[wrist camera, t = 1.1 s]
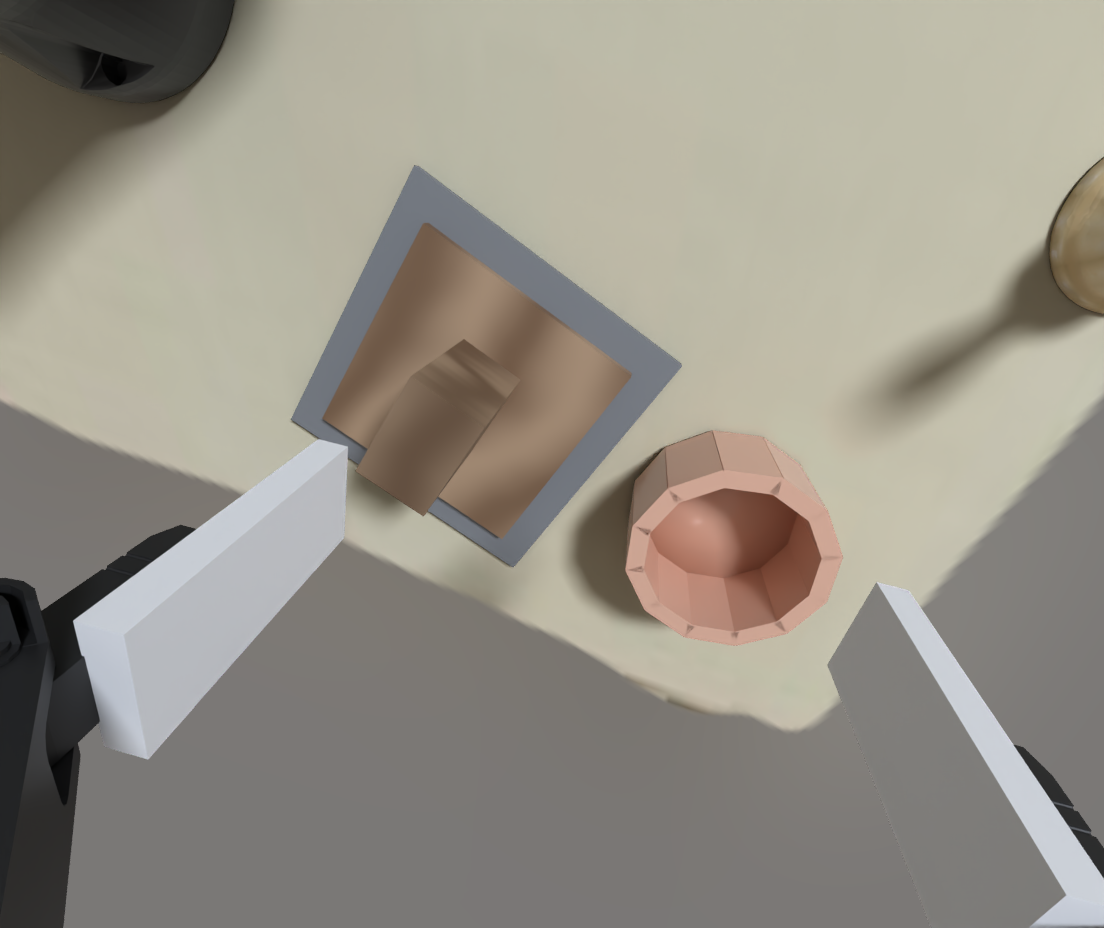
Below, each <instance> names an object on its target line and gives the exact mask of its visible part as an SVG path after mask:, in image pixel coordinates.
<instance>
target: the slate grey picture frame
mask: <svg viewBox="0 0 1104 928" xmlns="http://www.w3.org/2000/svg"><path fill="white" fill-rule="evenodd" d="M423 223H430V224H431V225H432V226H434V227H435V228H436V229H438V230H439V231H440V232H442V233H443V234H444V235H446V236H447V237H448V238H450V239H451V240H452V241H454V242H455V243H457V244H458V245H459V246H461V247H462V248H463V249H465V250H466V251H467V252H469V253H470V254H471V255H473V256H474V257H475V258H477V259H478V260H480V261H481V262H482V263H484V264H485V265H486V266H488V267H489V268H490V269H492V270H493V271H494V272H496V273H497V274H498V275H500V276H501V277H503V278H504V279H505V280H507V281H508V282H509V283H511V284H512V285H513V286H515V287H516V288H517V289H519V290H520V291H521V292H523V293H524V294H526V295H527V296H528V297H530V298H531V299H532V300H534V301H535V302H536V303H538V304H539V305H540V306H542V307H543V308H544V309H546V310H547V311H548V312H550V313H551V314H553V315H554V316H555V317H557V318H558V319H559V320H561V321H562V322H563V323H565V324H566V325H567V326H569V327H570V328H571V329H573V330H574V331H576V332H577V333H578V334H580V335H581V336H582V337H584V338H585V339H586V340H588V341H589V342H590V343H592V344H593V345H594V346H596V347H597V348H599V349H600V350H601V351H603V352H604V353H605V354H607V355H608V356H609V357H611V358H612V359H613V360H615V361H616V362H617V363H619V364H620V365H621V366H623V367H624V368H626V369H627V370H628V371H630V372H631V373H632V376H631V378H630V379H629V381H628V382H627V383H626V384H625V386H624V387H623V388H622V389H621V391H620V392H619V393H618V394H617V396H616V397H615V398H614V399H613V401H612V402H611V403H610V404H609V406H608V407H607V408H606V409H605V411H604V412H603V413H602V414H601V416H600V417H599V418H598V419H597V421H596V422H595V423H594V424H593V426H592V427H591V428H590V429H589V431H588V432H587V433H586V434H585V436H584V437H583V438H582V439H581V441H580V442H579V443H578V444H577V446H576V447H575V448H574V450H573V451H572V452H571V453H570V455H569V456H568V457H567V458H566V460H565V461H564V462H563V463H562V465H561V466H560V467H559V468H558V470H557V471H556V472H555V473H554V475H553V476H552V477H551V478H550V480H549V481H548V482H547V483H546V485H545V486H544V487H543V488H542V490H541V491H540V492H539V493H538V495H537V496H536V497H535V498H534V500H533V501H532V502H531V503H530V505H529V506H528V507H527V508H526V510H525V511H524V512H523V513H522V515H521V516H520V517H519V519H518V520H517V521H516V522H515V524H514V525H513V526H512V527H511V529H510V530H509V531H508V532H507V534H506V535H505V536H504V537H503V539H501V538H499V537H498V536H496V535H495V534H493V533H492V532H490V531H489V530H487V529H486V528H484V527H483V526H481V525H480V524H478V523H477V522H476V521H474V520H473V519H471V518H470V517H468V516H467V515H465V514H464V513H462V512H461V511H459V510H458V509H456V508H455V507H453V506H452V505H450V504H449V503H447V502H446V501H444V500H443V499H441V498H440V497H437V499H436V500H435V502H434V503H433V504H432V506H431V507H430V508H429V510H428V511H429V512H431V513H432V514H434V515H435V516H437V517H438V518H440V519H441V520H443V521H444V522H446V523H447V524H449V525H450V526H452V527H453V528H455V529H456V530H458V531H459V532H461V533H462V534H464V535H465V536H467V537H468V538H470V539H471V540H473V541H474V542H476V543H477V544H479V545H480V546H482V547H483V548H485V549H486V550H488V551H489V552H491V553H492V554H494V555H495V556H497V557H498V558H500V559H501V560H503V561H504V562H506V563H507V564H509V565H510V566H512V567H514V566H515V565H516V564H517V563H518V561H519V560H520V559H521V558H522V557H523V555H524V554H525V553H526V552H527V551H528V549H529V548H530V547H531V546H532V545H533V543H534V542H535V541H536V540H537V539H538V537H539V536H540V535H541V534H542V533H543V531H544V530H545V529H546V528H547V527H548V526H549V524H550V523H551V522H552V521H553V520H554V518H555V517H556V516H557V515H558V514H559V512H560V511H561V510H562V509H563V508H564V506H565V505H566V504H567V503H568V502H569V500H570V499H571V498H572V497H573V496H574V494H575V493H576V492H577V491H578V490H579V488H580V487H581V486H582V485H583V484H584V483H585V481H586V480H587V479H588V478H589V477H590V475H591V474H592V473H593V472H594V471H595V469H596V468H597V467H598V466H599V465H600V463H601V462H602V461H603V460H604V459H605V457H606V456H607V455H608V454H609V453H610V451H611V450H612V449H613V448H614V447H615V446H616V444H617V443H618V442H619V441H620V440H621V438H622V437H623V436H624V435H625V434H626V432H627V431H628V430H629V429H630V428H631V426H632V425H633V424H634V423H635V422H636V420H637V419H638V418H639V417H640V416H641V414H642V413H643V412H644V411H645V410H646V409H647V407H648V406H649V405H650V404H651V403H652V401H653V400H654V399H655V398H656V397H657V395H658V394H659V393H660V392H661V391H662V389H663V388H664V387H665V386H666V385H667V383H668V382H669V381H670V380H671V379H672V377H673V376H674V375H675V374H676V373H677V371H678V370H679V369H680V368H681V367H682V365H681V363H680V362H678V361H677V360H676V359H674V358H673V357H672V356H670V355H669V354H668V353H666V352H665V351H664V350H662V349H661V348H660V347H658V346H657V345H656V344H654V343H653V342H652V341H650V340H649V339H648V338H646V337H645V336H644V335H642V334H641V333H640V332H638V331H637V330H636V329H634V328H633V327H632V326H630V325H629V324H628V323H626V322H625V321H624V320H622V319H621V318H620V317H618V316H617V315H616V314H614V313H613V312H612V311H610V310H609V309H608V308H606V307H605V306H604V305H603V304H601V303H600V302H599V301H597V300H596V299H595V298H593V297H592V296H591V295H589V294H588V293H587V292H585V291H584V290H583V289H581V288H580V287H579V286H577V285H576V284H575V283H573V282H572V281H571V280H569V279H568V278H567V277H565V276H564V275H563V274H561V273H560V272H559V271H557V270H556V269H555V268H553V267H552V266H551V265H549V264H548V263H547V262H545V261H544V260H543V259H541V258H540V257H539V256H537V255H536V254H535V253H533V252H532V251H531V250H529V249H528V248H527V247H525V246H524V245H523V244H521V243H520V242H519V241H517V240H516V239H515V238H513V237H512V236H511V235H509V234H508V233H507V232H505V231H504V230H503V229H501V228H500V227H499V226H497V225H496V224H495V223H493V222H492V221H491V220H489V219H488V218H487V217H485V216H484V215H483V214H481V213H480V212H479V211H478V210H476V209H475V208H474V207H472V206H471V205H470V204H468V203H467V202H466V201H464V200H463V199H462V198H460V197H459V196H458V195H456V194H455V193H454V192H452V191H451V190H450V189H448V188H447V187H446V186H444V185H443V184H442V183H440V182H439V181H438V180H436V179H435V178H434V177H432V176H431V175H430V174H428V173H427V172H426V171H424V170H423V169H422V168H420V167H419V166H415V165H414V167H413V169H412V171H411V173H410V175H409V177H408V180H407V182H406V184H405V186H404V188H403V190H402V192H401V194H400V196H399V198H398V200H397V202H396V204H395V206H394V208H393V210H392V212H391V214H390V217H389V219H388V221H387V223H386V225H385V227H384V229H383V231H382V233H381V235H380V237H379V239H378V241H377V243H376V245H375V247H374V249H373V252H372V254H371V256H370V258H369V260H368V262H367V264H366V266H365V268H364V270H363V272H362V274H361V276H360V278H359V280H358V282H357V284H356V287H355V289H354V291H353V293H352V295H351V297H350V299H349V301H348V303H347V305H346V307H345V309H344V311H343V313H342V315H341V317H340V319H339V321H338V324H337V326H336V328H335V330H334V332H333V334H332V336H331V338H330V340H329V342H328V344H327V346H326V348H325V350H324V352H323V354H322V356H321V359H320V361H319V363H318V365H317V367H316V369H315V371H314V373H313V375H312V377H311V379H310V381H309V383H308V385H307V387H306V389H305V391H304V394H303V396H302V398H301V400H300V402H299V404H298V406H297V408H296V410H295V412H294V414H293V416H292V418H291V420H293V421H294V422H296V423H297V424H299V425H300V426H302V427H303V428H305V429H306V430H308V431H309V432H311V433H312V434H314V435H315V436H317V437H318V438H320V439H321V440H324V441H328V442H332V443H336V444H340V445H343V446H347V447H348V458H350V459H351V460H353V461H354V462H356V463H357V464H360V462H361V460H362V459H363V457H364V455H365V454H366V452H367V450H368V449H367V448H365V447H364V446H362V445H361V444H359V443H358V442H357V441H355V440H354V439H352V438H351V437H349V436H348V435H346V434H345V433H343V432H342V431H340V430H339V429H337V428H336V427H334V426H333V425H331V424H330V423H328V422H327V421H325V420H324V419H322V418H323V416H324V414H325V412H326V410H327V408H328V406H329V404H330V402H331V400H332V398H333V396H334V394H335V393H336V391H337V389H338V387H339V385H340V383H341V381H342V379H343V377H344V375H345V373H346V371H347V369H348V367H349V365H350V363H351V362H352V360H353V358H354V356H355V354H356V352H357V350H358V348H359V346H360V344H361V342H362V340H363V338H364V336H365V334H366V333H367V331H368V329H369V327H370V325H371V323H372V321H373V319H374V317H375V315H376V313H377V311H378V309H379V307H380V305H381V304H382V302H383V300H384V298H385V296H386V294H387V292H388V290H389V288H390V286H391V284H392V282H393V280H394V278H395V276H396V275H397V273H398V271H399V269H400V267H401V265H402V263H403V261H404V259H405V257H406V255H407V253H408V251H409V249H410V247H411V246H412V244H413V242H414V240H415V238H416V236H417V234H418V232H419V230H420V228H421V226H422V224H423Z"/></svg>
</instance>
